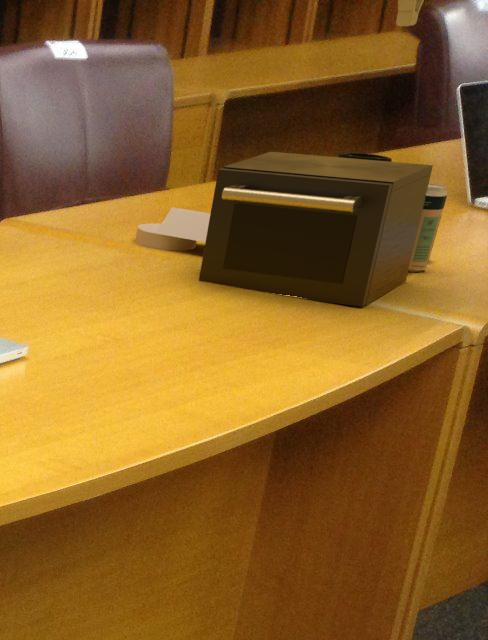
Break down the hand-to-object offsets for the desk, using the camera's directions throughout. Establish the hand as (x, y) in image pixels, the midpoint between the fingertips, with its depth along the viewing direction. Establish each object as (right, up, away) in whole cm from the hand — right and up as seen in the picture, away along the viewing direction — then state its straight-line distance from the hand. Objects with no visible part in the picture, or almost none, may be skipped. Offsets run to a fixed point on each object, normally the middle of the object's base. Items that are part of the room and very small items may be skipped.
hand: (405, 25), depth 200 cm
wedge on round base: (-16, -20, +37) cm, 45 cm away
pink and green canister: (+15, -25, +27) cm, 39 cm away
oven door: (-13, -33, +9) cm, 37 cm away
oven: (-4, -29, +19) cm, 35 cm away
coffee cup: (+9, -20, +36) cm, 43 cm away
